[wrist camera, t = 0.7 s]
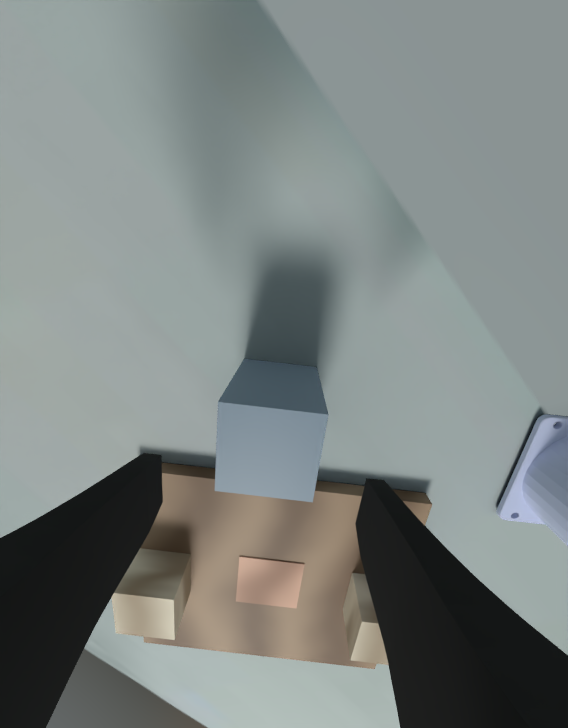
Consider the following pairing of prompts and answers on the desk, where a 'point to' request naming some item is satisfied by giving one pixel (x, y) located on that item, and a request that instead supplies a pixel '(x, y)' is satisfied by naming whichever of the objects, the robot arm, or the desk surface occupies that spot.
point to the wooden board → (255, 573)
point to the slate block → (271, 431)
